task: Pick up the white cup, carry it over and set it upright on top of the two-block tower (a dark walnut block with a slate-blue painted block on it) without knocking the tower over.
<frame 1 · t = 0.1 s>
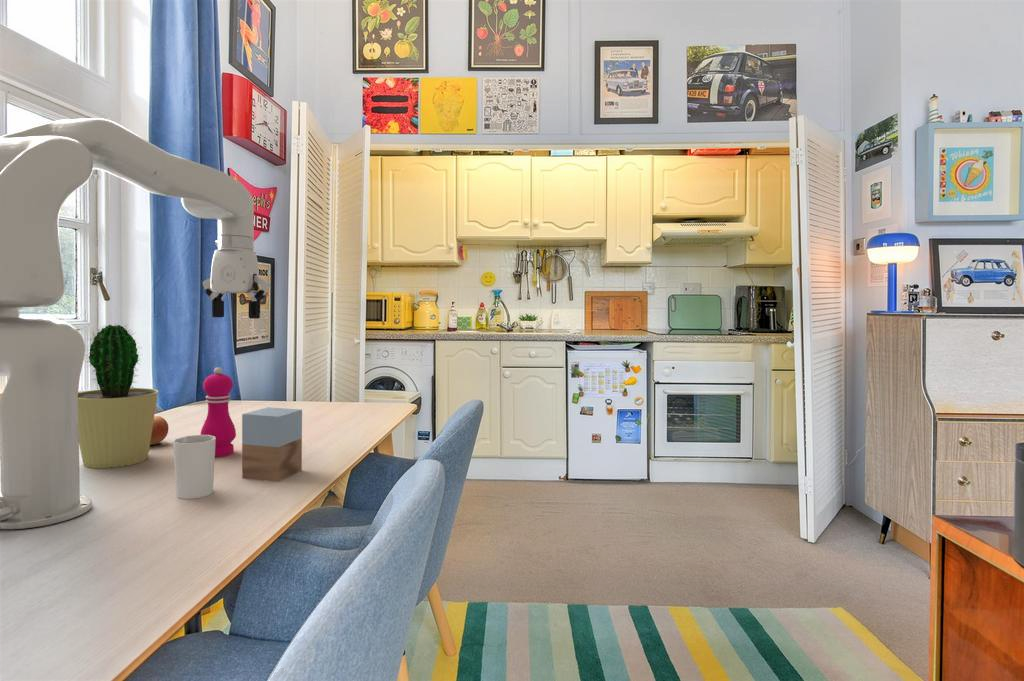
hand: (236, 317, 130), 31 cm above the table, tool pointing down, fingers open, 9 cm apart
potted cactus: (116, 461, 118), on the table
pepper mill: (218, 454, 126), on the table
slate block: (272, 440, 112), point 7 cm above the table, touching walnut block
white cup: (195, 494, 99), on the table
apple: (148, 445, 132), on the table
walnut block: (272, 474, 112), on the table, touching slate block
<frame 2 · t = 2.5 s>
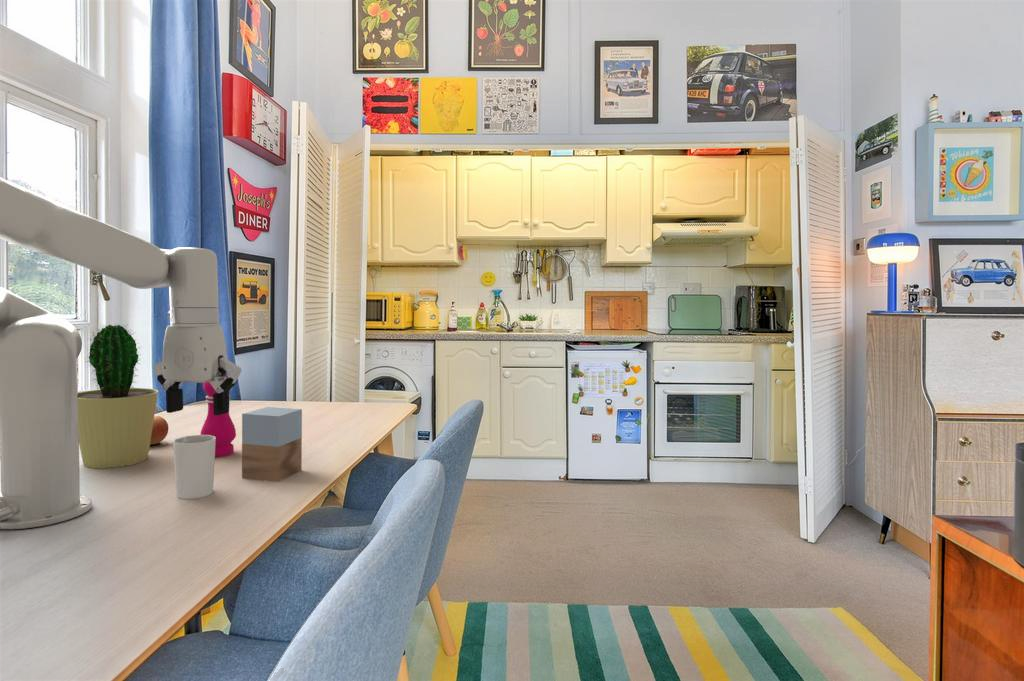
hand: (198, 412, 99), 15 cm above the table, tool pointing down, fingers open, 9 cm apart
nothing on the table moved.
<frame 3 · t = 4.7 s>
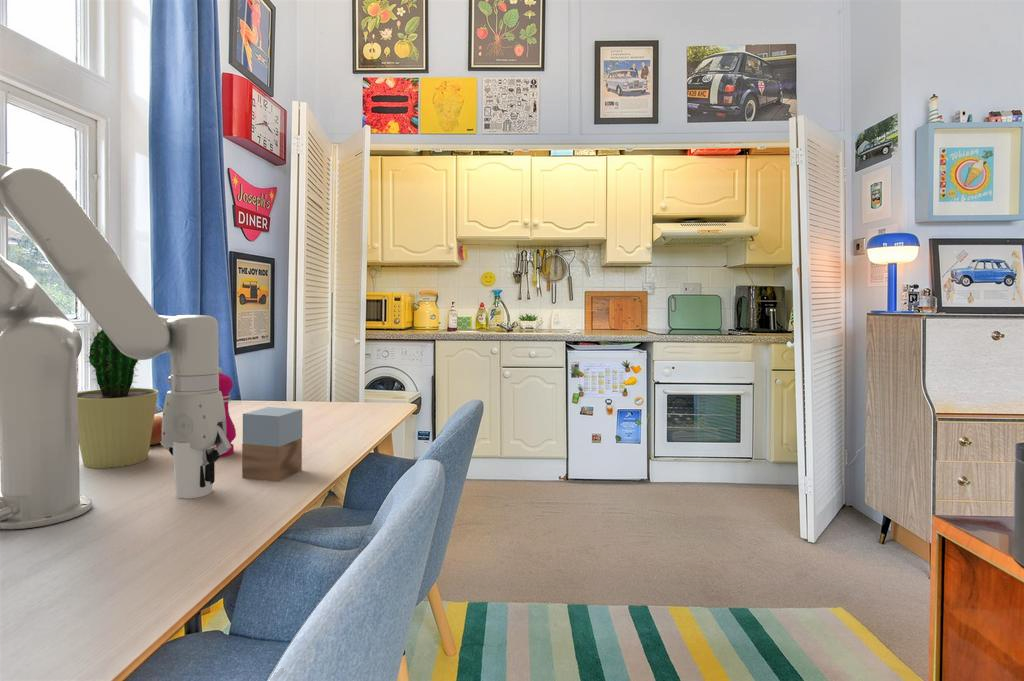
hand: (196, 483, 99), 2 cm above the table, tool pointing down, fingers closed on white cup, 3 cm apart
white cup: (194, 494, 100), on the table, touching gripper
everything else where it was.
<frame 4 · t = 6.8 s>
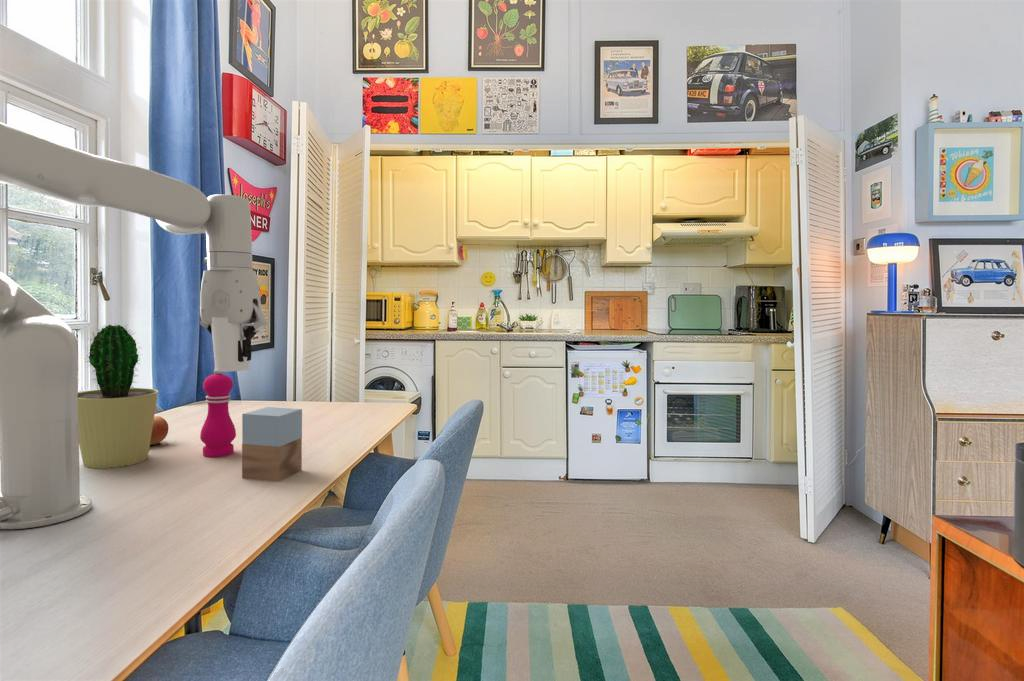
hand: (234, 359, 104), 24 cm above the table, tool pointing down, fingers closed on white cup, 3 cm apart
slate block: (273, 440, 112), point 7 cm above the table
white cup: (232, 370, 104), point 22 cm above the table, touching gripper
walnut block: (272, 474, 112), on the table
everything else where it was.
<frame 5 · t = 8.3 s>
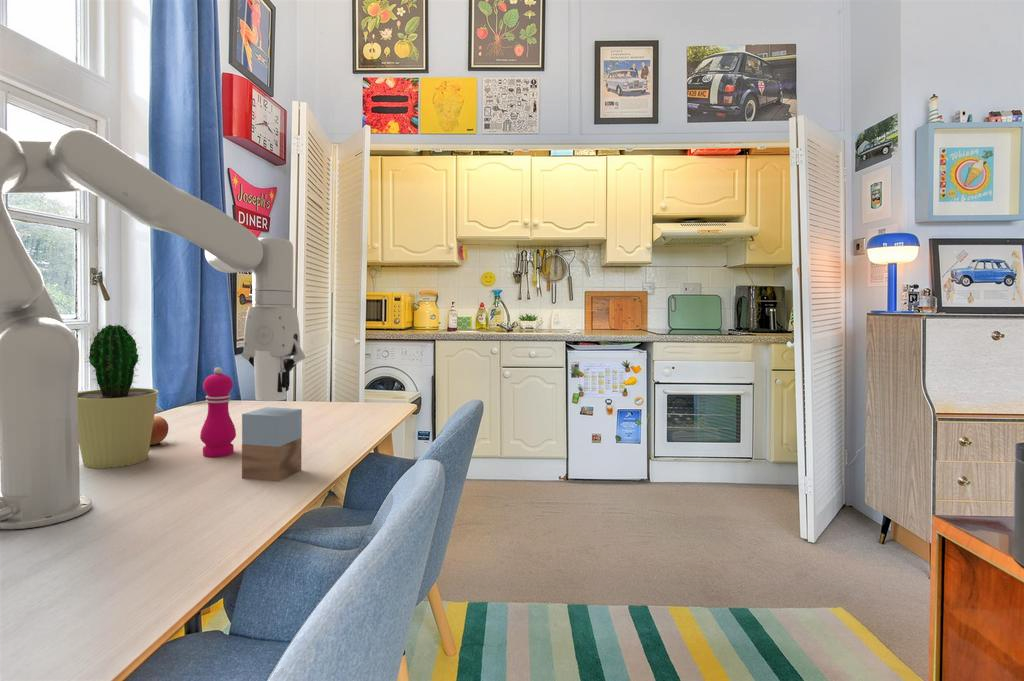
hand: (273, 389, 111), 17 cm above the table, tool pointing down, fingers closed on white cup, 3 cm apart
slate block: (272, 440, 112), point 7 cm above the table, touching walnut block
white cup: (271, 399, 111), point 15 cm above the table, touching gripper
walnut block: (272, 474, 112), on the table, touching slate block
everything else where it was.
when the fingers open (16 cm above the table, at t = 9.2 s): white cup drops 1 cm, resting on slate block.
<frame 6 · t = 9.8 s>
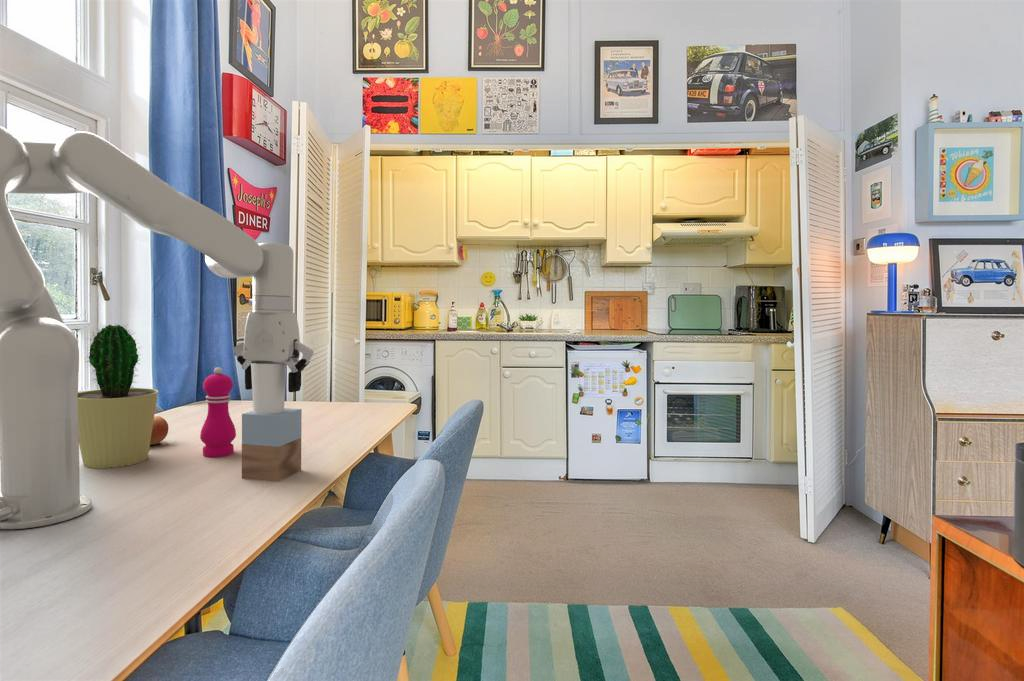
hand: (272, 390, 111), 17 cm above the table, tool pointing down, fingers open, 9 cm apart
slate block: (272, 440, 112), point 7 cm above the table, touching white cup, walnut block
white cup: (268, 412, 111), point 13 cm above the table, touching slate block
everything else where it was.
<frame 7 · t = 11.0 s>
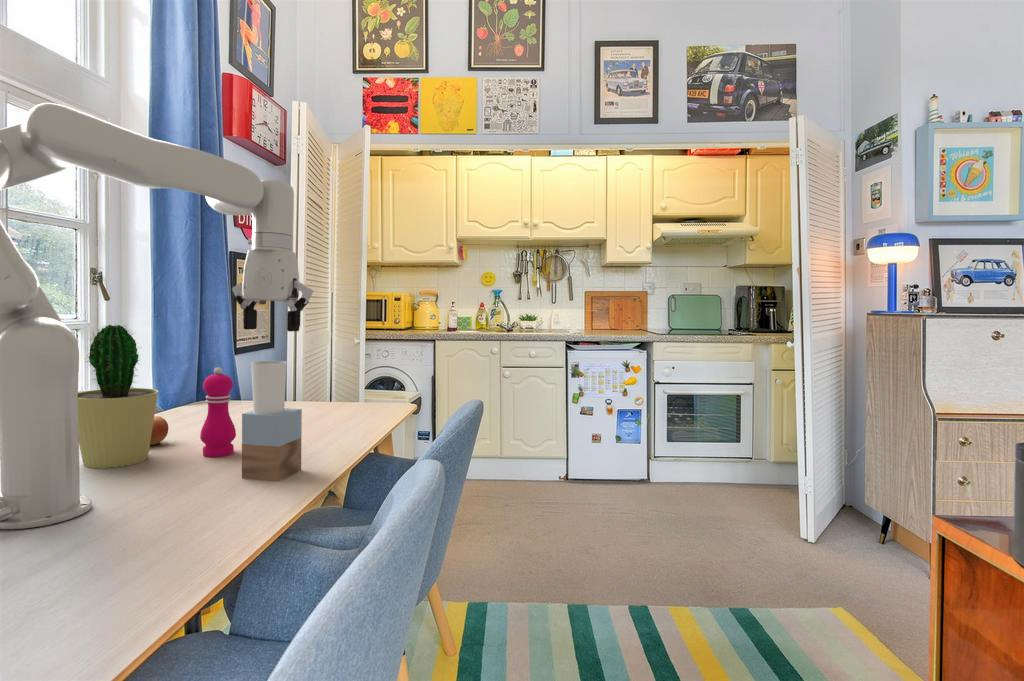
hand: (271, 330, 110), 29 cm above the table, tool pointing down, fingers open, 9 cm apart
nothing on the table moved.
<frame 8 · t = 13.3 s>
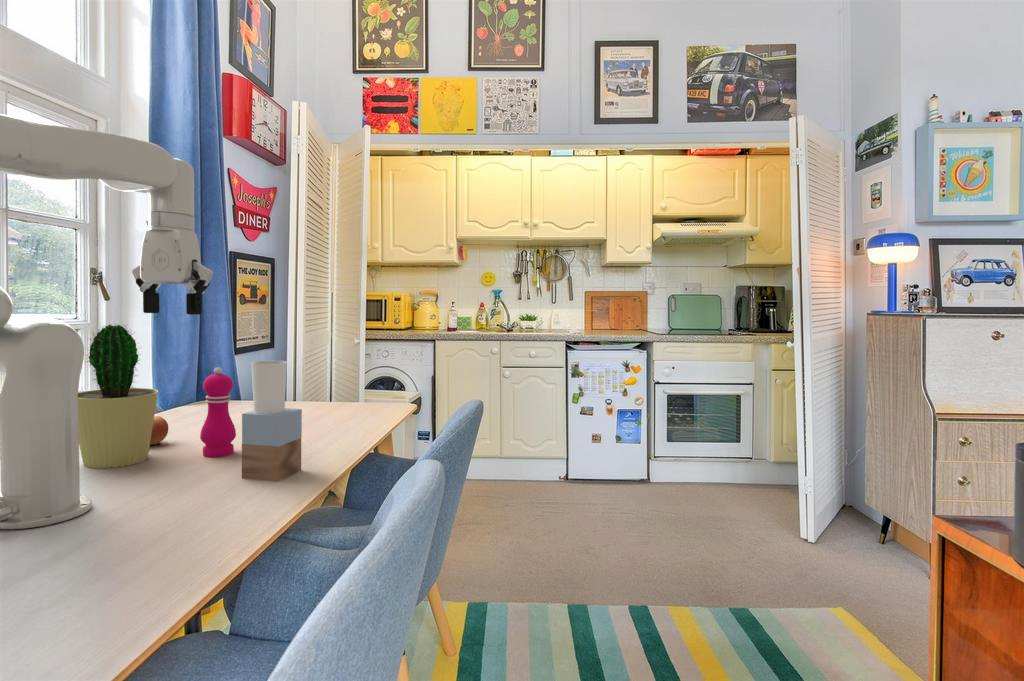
hand: (172, 313, 107), 32 cm above the table, tool pointing down, fingers open, 9 cm apart
nothing on the table moved.
at the end: white cup 0.6 cm off-centre on the slate block, point 5.8 cm above the slate block's base; white cup tilted 0°; slate block 0.0 cm off-centre on the walnut block, point 7.0 cm above the walnut block's base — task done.
